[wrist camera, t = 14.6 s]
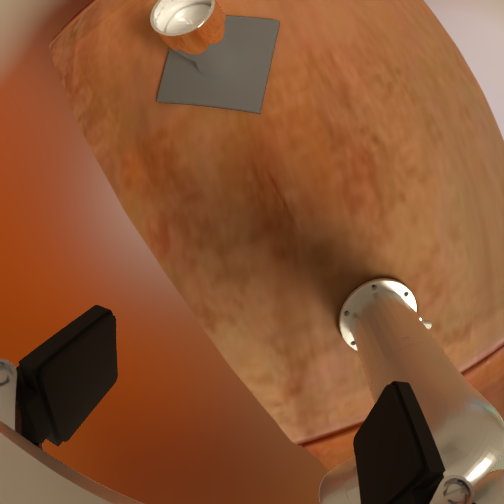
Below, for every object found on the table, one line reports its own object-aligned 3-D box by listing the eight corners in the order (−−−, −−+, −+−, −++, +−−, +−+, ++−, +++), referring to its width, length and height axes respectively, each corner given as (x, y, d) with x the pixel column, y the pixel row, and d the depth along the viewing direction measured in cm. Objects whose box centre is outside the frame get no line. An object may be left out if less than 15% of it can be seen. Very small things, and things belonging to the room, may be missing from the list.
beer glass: (217, 30, 33) (184, -25, 19) (252, 55, 34) (232, 0, 19) (183, 62, 35) (135, 20, 21) (216, 89, 36) (178, 49, 21)
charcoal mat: (279, 23, 33) (279, 20, 32) (260, 113, 37) (259, 112, 36) (182, 17, 34) (180, 15, 33) (158, 102, 38) (156, 101, 37)
